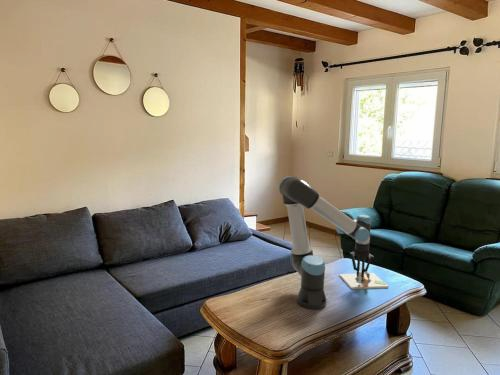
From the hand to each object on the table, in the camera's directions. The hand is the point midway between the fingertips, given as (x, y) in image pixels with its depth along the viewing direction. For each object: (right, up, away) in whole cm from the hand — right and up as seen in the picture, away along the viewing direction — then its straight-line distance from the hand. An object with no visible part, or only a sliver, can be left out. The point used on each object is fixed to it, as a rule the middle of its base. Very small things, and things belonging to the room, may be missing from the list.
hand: (359, 282), depth 208 cm
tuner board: (+4, -2, +7) cm, 9 cm away
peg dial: (+4, -1, +3) cm, 5 cm away
